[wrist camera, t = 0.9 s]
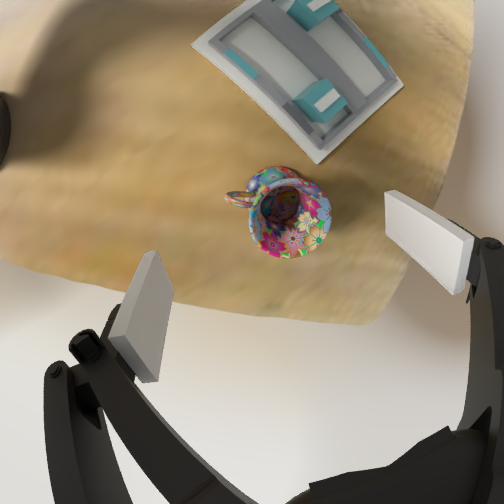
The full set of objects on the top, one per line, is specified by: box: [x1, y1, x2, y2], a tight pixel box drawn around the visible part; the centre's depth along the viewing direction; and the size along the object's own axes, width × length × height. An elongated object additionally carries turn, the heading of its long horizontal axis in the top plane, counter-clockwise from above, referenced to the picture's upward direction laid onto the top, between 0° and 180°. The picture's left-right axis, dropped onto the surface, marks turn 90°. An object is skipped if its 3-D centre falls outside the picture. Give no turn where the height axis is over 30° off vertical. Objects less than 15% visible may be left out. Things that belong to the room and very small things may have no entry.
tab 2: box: [292, 78, 348, 123], centre depth 30 cm, size 4×4×6 cm
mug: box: [225, 167, 332, 258], centre depth 34 cm, size 12×9×11 cm
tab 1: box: [286, 0, 340, 32], centre depth 23 cm, size 4×4×6 cm
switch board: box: [191, 0, 404, 164], centre depth 29 cm, size 24×20×3 cm
